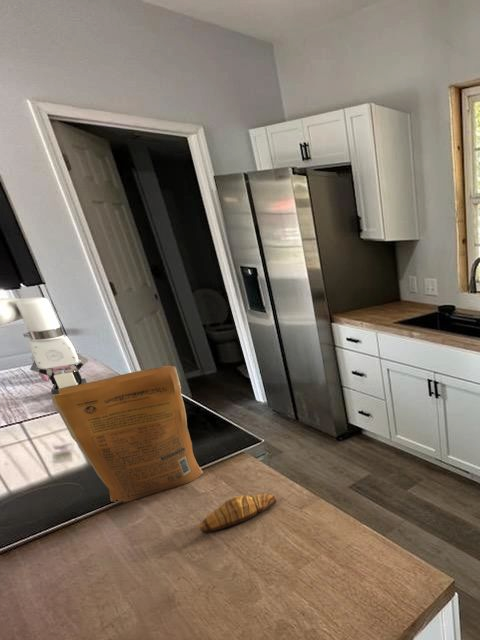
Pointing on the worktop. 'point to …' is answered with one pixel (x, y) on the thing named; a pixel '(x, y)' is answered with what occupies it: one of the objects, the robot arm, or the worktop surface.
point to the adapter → (55, 389)
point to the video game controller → (54, 372)
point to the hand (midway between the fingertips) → (68, 383)
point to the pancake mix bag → (132, 431)
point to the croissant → (237, 511)
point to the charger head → (65, 378)
